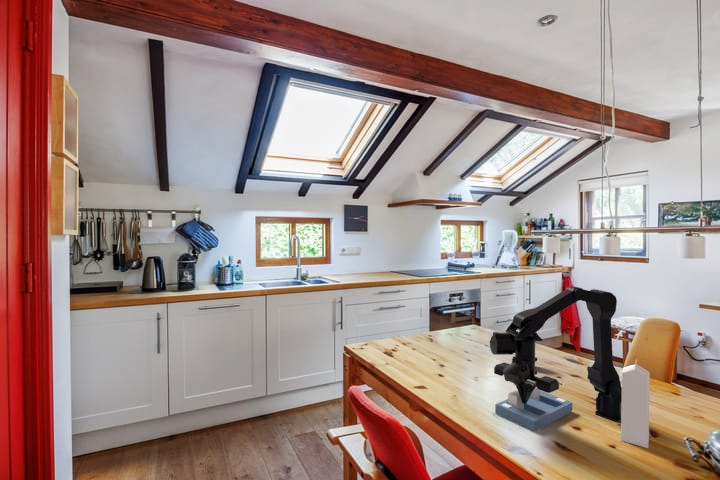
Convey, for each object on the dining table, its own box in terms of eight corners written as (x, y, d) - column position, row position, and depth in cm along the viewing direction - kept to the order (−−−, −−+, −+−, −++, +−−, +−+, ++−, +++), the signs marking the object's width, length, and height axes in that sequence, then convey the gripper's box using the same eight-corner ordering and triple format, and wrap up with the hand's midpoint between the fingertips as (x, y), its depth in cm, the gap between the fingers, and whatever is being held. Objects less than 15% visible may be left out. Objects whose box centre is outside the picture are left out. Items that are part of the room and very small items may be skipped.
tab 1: (523, 409, 117) (524, 393, 117) (516, 412, 115) (516, 396, 114) (515, 405, 119) (515, 390, 119) (508, 408, 117) (508, 393, 117)
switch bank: (572, 411, 118) (572, 401, 118) (534, 431, 106) (534, 420, 106) (534, 396, 129) (534, 387, 129) (495, 413, 116) (495, 403, 116)
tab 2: (539, 400, 123) (539, 386, 123) (532, 403, 121) (533, 388, 121) (531, 397, 125) (531, 383, 125) (524, 400, 123) (524, 385, 123)
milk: (648, 439, 102) (650, 361, 102) (648, 449, 97) (650, 366, 97) (622, 431, 106) (623, 356, 106) (620, 440, 101) (622, 361, 101)
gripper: (483, 350, 118) (483, 398, 118) (539, 368, 102) (539, 423, 102) (504, 345, 124) (504, 390, 124) (560, 360, 108) (559, 413, 108)
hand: (524, 403), depth 114 cm, fingers closed
